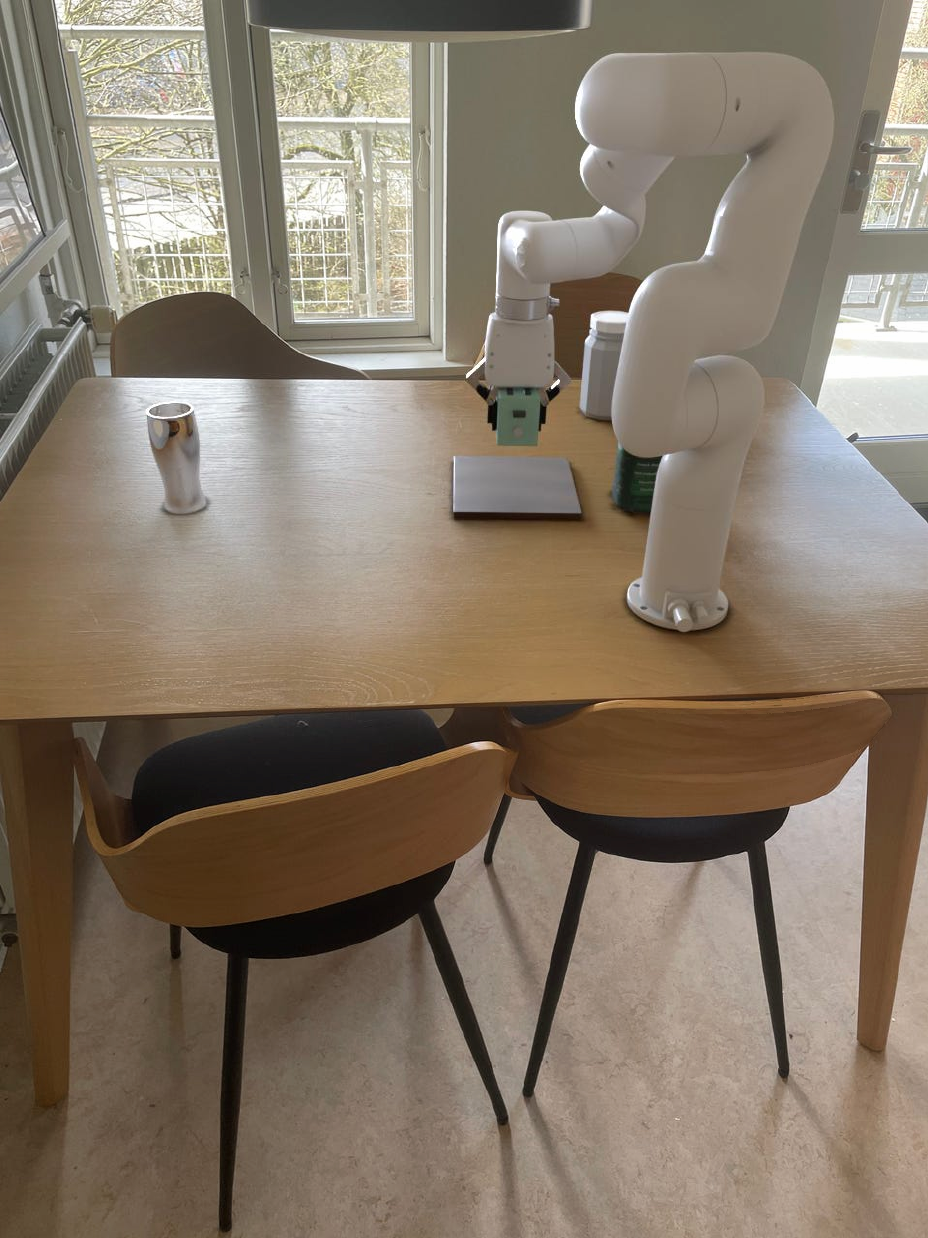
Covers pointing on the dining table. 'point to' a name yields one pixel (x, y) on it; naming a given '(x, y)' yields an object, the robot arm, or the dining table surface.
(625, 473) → the coffee jar
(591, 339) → the jar
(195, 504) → the beer glass
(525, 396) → the toaster
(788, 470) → the dining table surface
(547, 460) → the board
